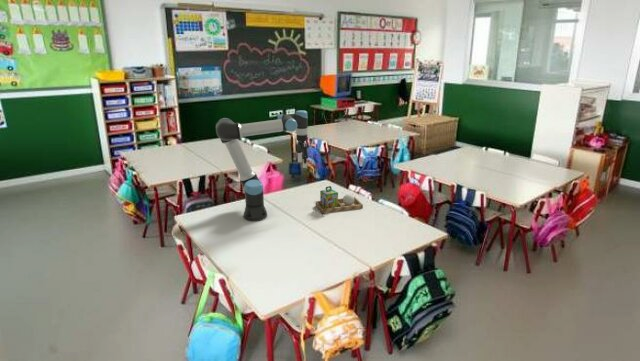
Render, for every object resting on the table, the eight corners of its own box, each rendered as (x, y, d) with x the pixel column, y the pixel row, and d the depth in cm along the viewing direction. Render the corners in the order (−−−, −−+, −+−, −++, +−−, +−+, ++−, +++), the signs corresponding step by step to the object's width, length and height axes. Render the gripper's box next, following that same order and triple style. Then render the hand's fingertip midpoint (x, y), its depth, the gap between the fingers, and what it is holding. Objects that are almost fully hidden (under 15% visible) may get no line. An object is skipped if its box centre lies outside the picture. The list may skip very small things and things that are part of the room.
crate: (321, 214, 270) (321, 209, 269) (315, 206, 283) (315, 201, 282) (362, 209, 278) (362, 204, 276) (354, 201, 291) (354, 196, 290)
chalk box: (326, 211, 273) (326, 190, 268) (319, 206, 280) (319, 186, 275) (338, 208, 277) (338, 187, 272) (331, 203, 284) (331, 183, 280)
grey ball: (345, 208, 277) (345, 197, 275) (341, 203, 285) (341, 193, 282) (356, 206, 280) (356, 195, 277) (351, 202, 287) (352, 191, 284)
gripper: (312, 137, 260) (312, 169, 267) (302, 130, 283) (303, 159, 290) (301, 138, 258) (301, 170, 265) (292, 130, 281) (292, 160, 288)
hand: (302, 164), depth 278 cm, fingers open, 13 cm apart
